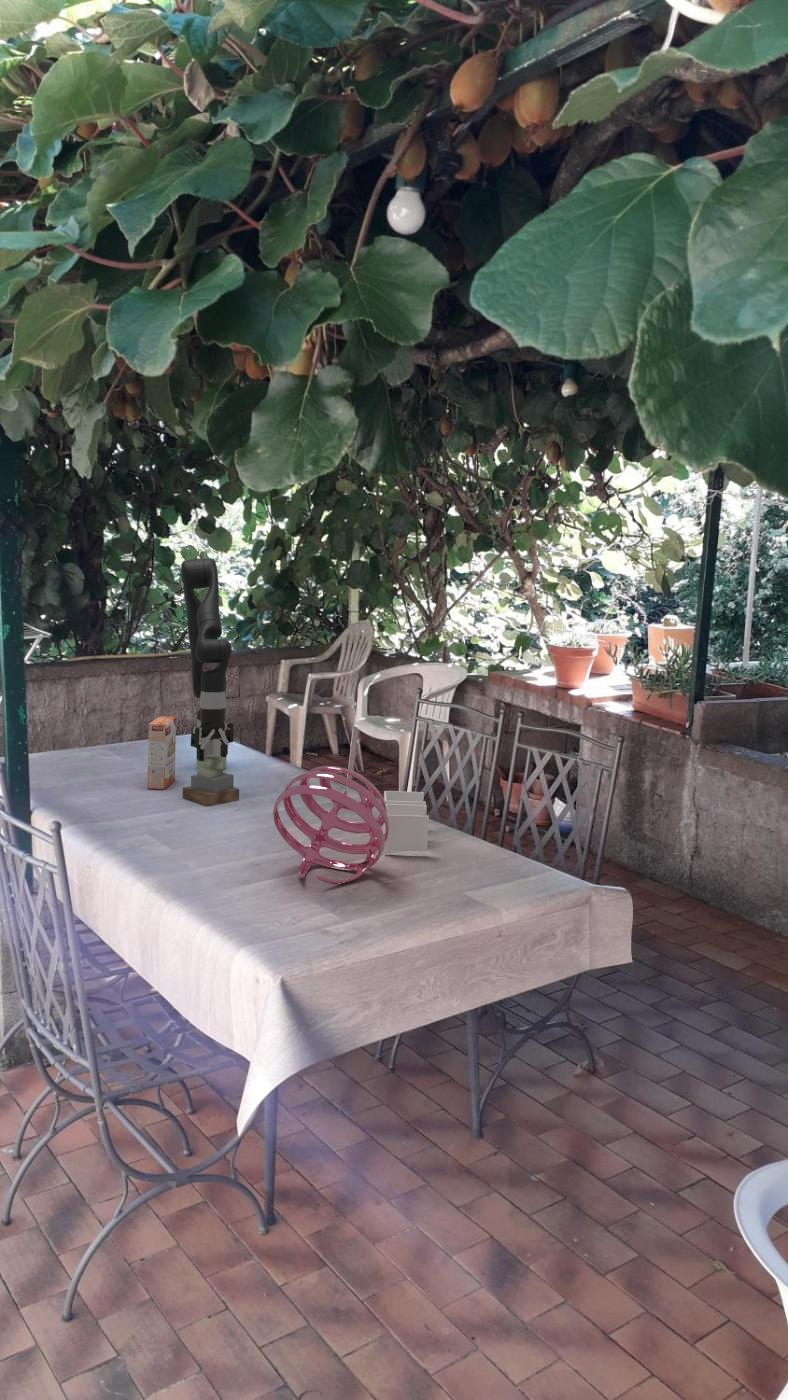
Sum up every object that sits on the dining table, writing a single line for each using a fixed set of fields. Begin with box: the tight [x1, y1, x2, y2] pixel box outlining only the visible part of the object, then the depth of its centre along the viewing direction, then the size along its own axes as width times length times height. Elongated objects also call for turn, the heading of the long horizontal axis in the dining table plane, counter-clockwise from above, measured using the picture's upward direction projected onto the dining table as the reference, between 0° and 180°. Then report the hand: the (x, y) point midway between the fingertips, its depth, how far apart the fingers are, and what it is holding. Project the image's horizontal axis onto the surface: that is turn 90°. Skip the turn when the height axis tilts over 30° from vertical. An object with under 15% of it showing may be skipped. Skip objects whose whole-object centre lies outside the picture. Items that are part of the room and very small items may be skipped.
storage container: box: [382, 790, 430, 852], centre depth 278 cm, size 25×11×11 cm, turn 1°
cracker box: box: [147, 715, 177, 790], centre depth 328 cm, size 14×6×21 cm, turn 179°
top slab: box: [190, 772, 235, 793], centre depth 313 cm, size 9×9×4 cm
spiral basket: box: [272, 765, 389, 885], centre depth 247 cm, size 28×28×27 cm
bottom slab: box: [182, 785, 240, 807], centre depth 314 cm, size 12×12×4 cm
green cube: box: [196, 755, 224, 778], centre depth 312 cm, size 6×6×6 cm
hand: (212, 758), depth 312 cm, fingers open, 8 cm apart
